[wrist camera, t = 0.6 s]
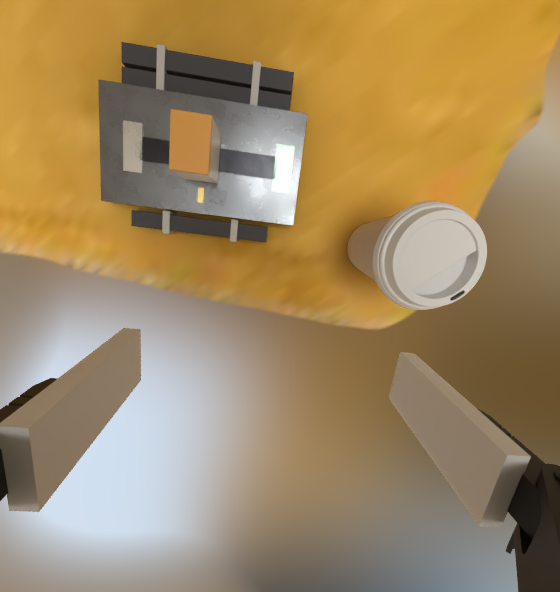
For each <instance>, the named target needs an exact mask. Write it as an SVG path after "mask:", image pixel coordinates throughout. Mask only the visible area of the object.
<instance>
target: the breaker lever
mask: <svg viewBox="0 0 560 592" xmlns="http://www.w3.org/2000/svg"><path fill="white" fill-rule="evenodd" d="M220 139H221V135H220V133H219V130H218V128H217V126H216V124H215V122H214V119H213V117H212V115H206V114H200V113H194V112H187V111H181V110H175V109H171V115H170V150H169V169H170V170H171V171H173V172H175V173H176V174H178V175H179V176H181V177H183V178H184V179H188V180H195V181H203V182H210V183H218V169H219V154H220Z"/></svg>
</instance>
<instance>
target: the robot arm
mask: <svg viewBox="0 0 560 592" xmlns="http://www.w3.org/2000/svg"><path fill="white" fill-rule="evenodd" d="M140 346H141V345H140V329H129V328H123V329H122V330H121V331H119V332H118V333H117V334H116V335H114V336H113V337H112V338H110V339H109V340H108V341H106V342H105V343H104V344H102V345H101V346H100V347H99V348H97V349H96V350H95V351H93V352H92V353H91V354H89V355H88V356H87V357H86V358H84V359H83V360H82V361H80V362H79V363H78V364H76V365H75V366H74V367H73V368H71V369H70V370H69V371H67V372H66V373H65V374H63V375H62V376H61V377H59V378H58V379H55V378H50V379H48V380H45V381H43V382H41V383H39V384H36V385H34V386H33V387H31V388H30V389H28V390H27V391H26V392H25V393H23V394H21V395H20V397H17V398H16V399H14V400H13V401H12V402H10V403H9V405H8V406H7V405H6V406H5V407H3V408H2V409H0V501H1V500H2V499H3V498H4V497H5V495H6V494H7V498H8V504H9V510H10V511H33V512H39V511H40V510H41V509H42V507H43V506H44V505H45V504H46V502H47V501H48V500H49V498H50V497H51V496H52V494H53V493H54V492H55V491H56V489H57V488H58V487H59V485H60V484H61V483H62V481H63V480H64V479H65V478H66V476H67V475H68V474H69V472H70V471H71V470H72V469H73V467H74V466H75V465H76V463H77V462H78V461H79V459H80V458H81V457H82V456H83V454H84V453H85V452H86V450H87V449H88V448H89V446H90V445H91V444H92V443H93V441H94V440H95V439H96V437H97V436H98V435H99V434H100V432H101V431H102V429H103V428H104V427H105V426H106V424H107V423H108V422H109V421H110V419H111V418H112V417H113V415H114V414H115V413H116V411H117V410H118V409H119V407H120V406H121V405H122V404H123V402H124V401H125V400H126V398H127V397H128V396H129V395H130V393H131V392H132V391H133V389H134V388H135V387H136V386H137V384H138V383H139V382H140V380H141V353H140V352H141V349H140V348H141V347H140ZM389 399H390V401H391V402H392V403H393V405H394V406H395V408H396V409H397V411H398V412H399V413H400V415H401V416H402V418H403V419H404V420H405V422H406V423H407V425H408V426H409V428H410V429H411V430H412V432H413V433H414V435H415V436H416V437H417V439H418V440H419V442H420V443H421V445H422V446H423V447H424V449H425V450H426V451H427V453H428V454H429V456H430V457H431V459H432V460H433V461H434V463H435V464H436V466H437V467H438V469H439V470H440V471H441V473H442V474H443V476H444V477H445V478H446V480H447V481H448V483H449V484H450V486H451V487H452V488H453V490H454V491H455V493H456V494H457V495H458V497H459V498H460V500H461V501H462V502H463V504H464V505H465V507H466V508H467V510H468V511H469V513H470V514H471V515H472V517H473V518H474V520H475V521H476V522H477V524H478V525H479V526H491V527H501V526H502V524H503V522H504V519H505V517H506V515H507V512H509V513H510V515H511V516H512V517H513V518H514V519H515V520H516V522H517V525H516V527H515V530H514V532H513V534H512V536H511V539H510V541H509V543H508V546H507V549H506V552H508V553H511V551H512V549H515V554H516V567H517V578H518V591H519V592H560V466H558V465H553V464H545V463H544V462H543V461H541V460H540V459H539V458H538V457H537V456H536V455H534V454H533V453H532V452H531V451H530V450H529V449H528V448H526V447H525V446H524V445H523V444H522V443H521V442H519V441H518V440H517V439H516V438H515V437H514V436H511V434H510V433H509V432H508V431H507V430H506V429H504V428H502V427H501V425H500V424H498V423H497V422H496V421H495V420H494V419H493V418H492V417H490V416H489V415H487V414H486V413H484V412H482V411H480V410H479V409H477V408H475V407H474V406H473V405H472V404H471V403H470V402H469V401H467V400H466V399H465V398H464V397H463V396H462V395H461V394H460V393H458V392H457V391H456V390H455V389H454V388H453V387H451V386H450V385H449V384H448V383H447V382H446V381H445V380H443V379H442V378H441V377H440V376H439V375H438V374H437V373H436V372H435V371H433V370H432V369H431V368H430V367H429V366H428V365H427V364H425V363H424V362H423V361H422V360H421V359H420V358H419V357H418V356H416V355H415V354H413V353H402V352H400V355H399V360H398V363H397V367H396V371H395V375H394V379H393V383H392V387H391V391H390V395H389Z"/></svg>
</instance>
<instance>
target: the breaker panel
mask: <svg viewBox="0 0 560 592" xmlns="http://www.w3.org/2000/svg"><path fill="white" fill-rule="evenodd" d="M171 109H175V110H181V111H187V112H194V113H200V114H206V115H212V117H213V119H214V122H215V124H216V126H217V128H218V130H219V133H220V135H221V139H220V154H219V169H218V183H210V182H203V181H195V180H188V179H184V178H183V177H181V176H179V175H178V174H176V173H175V172H173V171H171V170H170V169H169V150H170V115H171ZM99 121H100V163H101V201H106V202H112V203H120V204H127V205H135V206H143V207H151V208H158V209H166V210H174V211H182V212H190V213H197V214H205V215H213V216H221V217H229V218H236V219H244V220H252V221H260V222H268V223H275V224H283V225H293V222H294V214H295V207H296V199H297V191H298V184H299V176H300V168H301V161H302V153H303V145H304V137H305V130H306V122H307V114H305V113H299V112H293V111H287V110H281V109H275V108H269V107H262V106H256V105H250V104H244V103H238V102H232V101H226V100H220V99H214V98H208V97H202V96H196V95H190V94H183V93H177V92H171V91H165V90H159V89H153V88H147V87H141V86H135V85H129V84H123V83H117V82H111V81H104V80H99Z"/></svg>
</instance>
